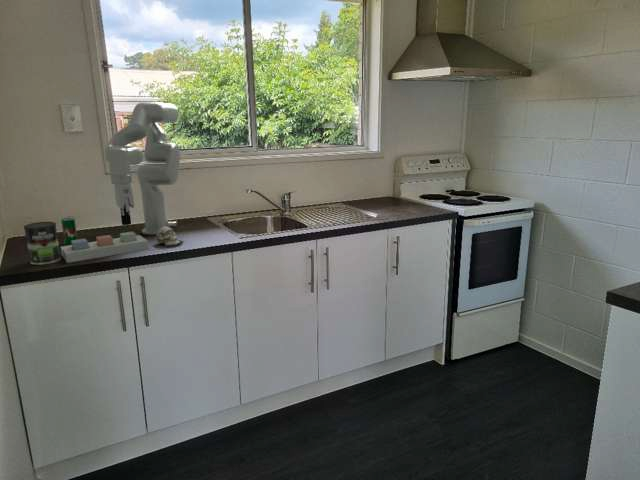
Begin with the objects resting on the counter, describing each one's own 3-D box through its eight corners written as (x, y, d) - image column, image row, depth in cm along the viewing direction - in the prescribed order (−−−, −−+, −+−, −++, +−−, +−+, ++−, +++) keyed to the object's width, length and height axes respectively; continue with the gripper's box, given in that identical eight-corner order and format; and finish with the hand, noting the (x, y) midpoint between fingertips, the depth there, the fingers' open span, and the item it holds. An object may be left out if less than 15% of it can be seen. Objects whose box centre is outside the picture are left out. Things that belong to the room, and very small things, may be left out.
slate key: (86, 248, 183) (85, 238, 182) (89, 251, 180) (87, 241, 178) (72, 250, 180) (71, 240, 179) (75, 253, 177) (73, 243, 176)
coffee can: (63, 261, 174) (57, 225, 170) (31, 266, 168) (24, 229, 165) (59, 255, 182) (53, 220, 178) (28, 259, 176) (22, 223, 173)
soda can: (75, 242, 200) (71, 215, 197) (80, 244, 197) (76, 216, 194) (62, 244, 196) (58, 217, 193) (68, 246, 193) (63, 218, 190)
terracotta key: (110, 244, 189) (109, 234, 188) (113, 247, 185) (112, 237, 184) (97, 246, 186) (96, 236, 185) (100, 249, 182) (99, 239, 181)
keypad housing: (140, 242, 199) (139, 234, 198) (148, 248, 190) (147, 240, 189) (61, 255, 182) (60, 246, 181) (67, 262, 172) (66, 253, 172)
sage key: (133, 240, 194) (132, 231, 193) (136, 243, 190) (135, 233, 189) (120, 242, 191) (119, 233, 190) (124, 245, 187) (123, 235, 186)
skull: (190, 240, 199) (177, 226, 191) (178, 260, 195) (163, 247, 187) (171, 235, 205) (157, 222, 197) (158, 255, 201) (144, 242, 193)
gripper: (136, 180, 180) (141, 226, 185) (125, 176, 191) (130, 220, 196) (116, 182, 176) (121, 229, 180) (106, 178, 187) (112, 222, 192)
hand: (126, 224), depth 188 cm, fingers closed
